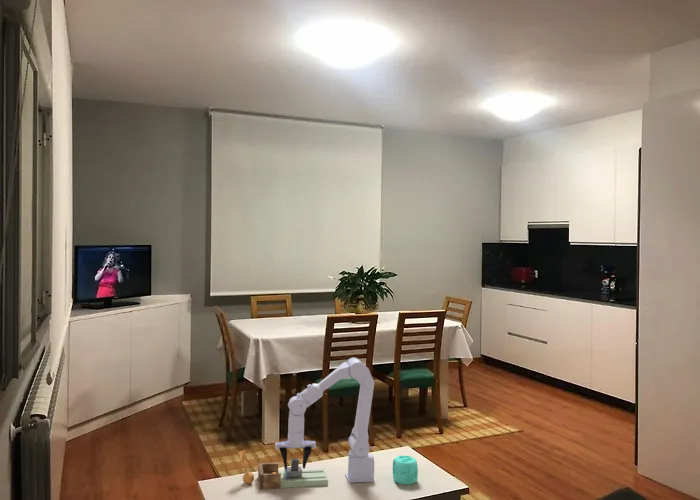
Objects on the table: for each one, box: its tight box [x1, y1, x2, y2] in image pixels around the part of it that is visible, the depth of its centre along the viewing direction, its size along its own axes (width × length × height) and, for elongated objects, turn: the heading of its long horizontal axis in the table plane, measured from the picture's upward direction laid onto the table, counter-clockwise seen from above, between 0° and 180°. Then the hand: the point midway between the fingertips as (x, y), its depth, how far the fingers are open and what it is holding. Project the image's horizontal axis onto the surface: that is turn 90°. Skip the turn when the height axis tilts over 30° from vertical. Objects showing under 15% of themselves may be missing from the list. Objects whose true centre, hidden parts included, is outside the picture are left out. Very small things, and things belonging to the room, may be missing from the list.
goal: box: [257, 461, 281, 491], centre depth 211 cm, size 7×11×5 cm, turn 12°
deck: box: [278, 468, 329, 489], centre depth 213 cm, size 17×10×2 cm, turn 102°
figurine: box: [237, 449, 255, 485], centre depth 209 cm, size 8×6×12 cm
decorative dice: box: [392, 455, 419, 485], centre depth 217 cm, size 8×8×8 cm
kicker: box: [283, 457, 303, 479], centre depth 213 cm, size 6×7×6 cm
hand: (294, 467), depth 213 cm, fingers open, 6 cm apart
